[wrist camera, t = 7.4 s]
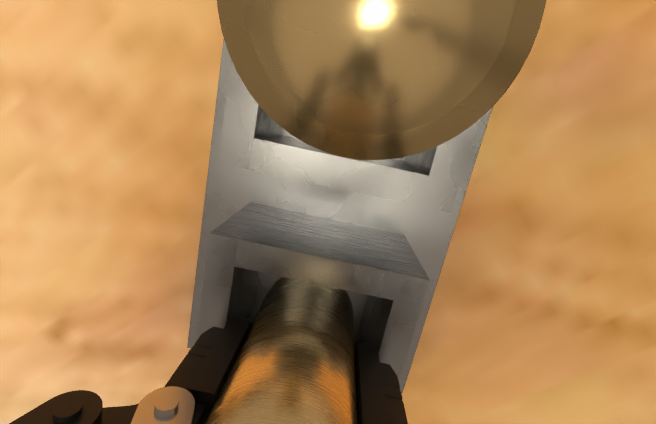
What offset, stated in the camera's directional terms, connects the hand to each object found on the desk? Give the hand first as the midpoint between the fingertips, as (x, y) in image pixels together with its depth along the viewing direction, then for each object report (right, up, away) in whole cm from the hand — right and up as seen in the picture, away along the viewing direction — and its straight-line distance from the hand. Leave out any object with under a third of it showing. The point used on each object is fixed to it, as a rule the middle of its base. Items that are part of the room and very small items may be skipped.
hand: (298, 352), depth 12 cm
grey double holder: (+1, +6, +5) cm, 8 cm away
